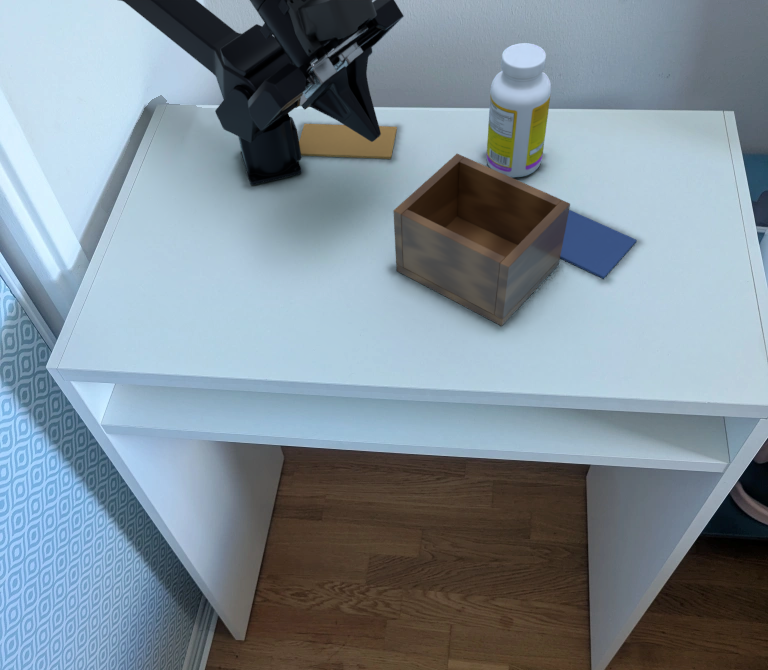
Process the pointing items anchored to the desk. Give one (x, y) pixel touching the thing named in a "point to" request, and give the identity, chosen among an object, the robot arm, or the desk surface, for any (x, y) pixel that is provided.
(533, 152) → the supplement bottle
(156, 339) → the desk surface
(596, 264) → the blue cloth
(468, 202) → the crate
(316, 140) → the tan cloth
